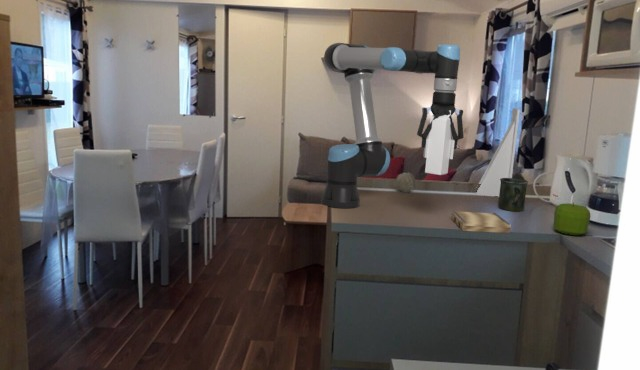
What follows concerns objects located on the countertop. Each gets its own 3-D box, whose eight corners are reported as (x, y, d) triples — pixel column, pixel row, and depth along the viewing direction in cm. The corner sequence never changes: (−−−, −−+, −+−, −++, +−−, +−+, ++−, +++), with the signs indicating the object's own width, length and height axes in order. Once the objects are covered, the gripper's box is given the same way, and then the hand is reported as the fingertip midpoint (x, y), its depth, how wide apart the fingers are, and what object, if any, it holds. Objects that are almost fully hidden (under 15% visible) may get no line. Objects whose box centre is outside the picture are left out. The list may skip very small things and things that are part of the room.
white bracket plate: (474, 189, 259) (483, 106, 252) (505, 191, 256) (514, 108, 248) (476, 196, 240) (485, 107, 233) (509, 199, 236) (519, 109, 229)
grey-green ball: (412, 197, 243) (422, 177, 241) (403, 196, 237) (412, 176, 234) (397, 187, 249) (406, 168, 246) (387, 186, 242) (396, 167, 240)
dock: (462, 230, 178) (463, 221, 177) (451, 219, 193) (451, 210, 193) (509, 233, 178) (510, 224, 177) (494, 221, 194) (495, 212, 193)
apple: (556, 236, 177) (560, 204, 175) (548, 228, 188) (552, 198, 186) (591, 239, 176) (596, 207, 174) (581, 231, 186) (586, 200, 184)
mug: (520, 207, 222) (524, 178, 220) (530, 215, 208) (534, 184, 205) (494, 205, 223) (497, 177, 221) (501, 212, 209) (505, 183, 206)
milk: (432, 171, 189) (438, 108, 185) (448, 173, 185) (454, 110, 181) (424, 172, 184) (430, 108, 180) (440, 175, 180) (447, 110, 176)
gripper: (415, 90, 176) (409, 157, 180) (478, 93, 176) (470, 161, 180) (411, 89, 183) (405, 154, 187) (472, 93, 183) (465, 158, 187)
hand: (437, 157), depth 184 cm, fingers closed on milk, 8 cm apart
